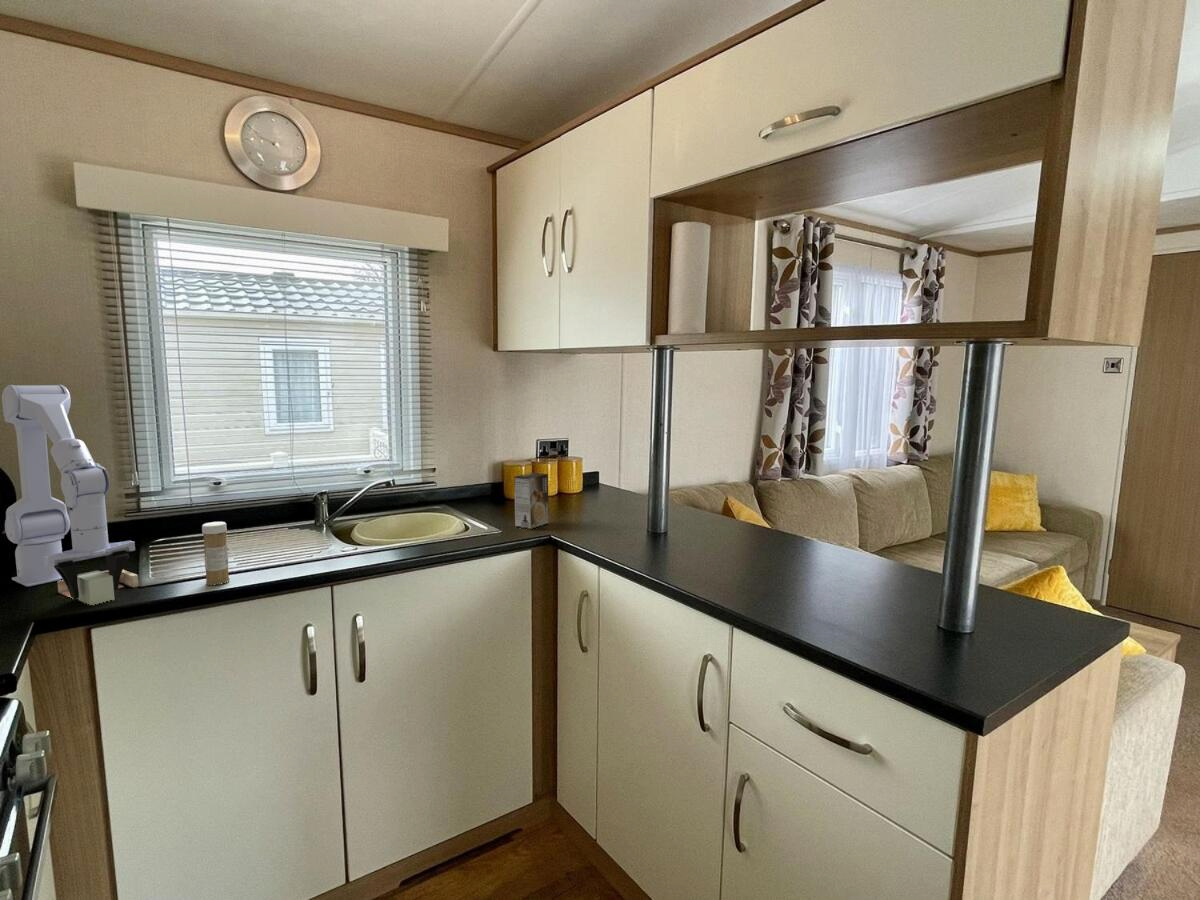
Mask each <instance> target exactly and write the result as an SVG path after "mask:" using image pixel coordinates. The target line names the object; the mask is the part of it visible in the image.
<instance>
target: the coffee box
mask: <svg viewBox="0 0 1200 900" xmlns="http://www.w3.org/2000/svg"><path fill="white" fill-rule="evenodd" d="M513 478H514V479H513V480H514V481H513V482H514V484H513V485H514V520H515V521H514V525H515V526H521V527H528V528H532V527H536V526H539V525H542V524H545V523H548V522H549V523H550V521H549V520H550V519H549V474H548V473H540V472H539V473H538V472H530V473H529V472H528V473H525V474H520V475H515V476H514V477H513ZM515 526H514V527H515Z"/></svg>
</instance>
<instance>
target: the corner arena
mask: <svg viewBox="0 0 1200 900" xmlns="http://www.w3.org/2000/svg"><path fill="white" fill-rule="evenodd" d="M101 572H103V573H106V574H108V575H109V570H108V569H107V570H103V571H101ZM56 583H57V592H58V593H59V594H61V595H63V596H65V597H67V598H69V597H70V598H69V599H71V598H72V597H71V596H70V593H69V590H68V587H67V585H66V583H65V582H64V580H63V579H62V580H57V582H56ZM120 583H121V584H120ZM123 583H124V584H123ZM122 584H123V585H122ZM139 584H140V583H139V575H138V574H136V573H133V572H130V571H127V570H125V569H123V570H122V573H121V576H120V580H119V586H118V589H121V588H125V586H124V585H126V586H128V587H131V588H136V587H137V588H138V587H140V585H139ZM72 600H75V599H74V598H72Z"/></svg>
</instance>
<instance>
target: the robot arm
mask: <svg viewBox="0 0 1200 900" xmlns="http://www.w3.org/2000/svg"><path fill="white" fill-rule="evenodd" d="M71 400H72V399H71V393H70V392H69V390H68V388H67V387H66V386H64V385H63V384H56V385H55V384H54V385H52V384H51V385H42V384H41V385H14V384H8V385H7V386H6V387H5V388H4V389H3V391H2V393H1V401H2V402H1V403H2V413H3V417H4V422H5V423H9V424H12V425H14V429H15V432H16V433H15V434H16V445H17V455H18V467H19V475H20V477H19V478H20V488H21V489H20V490H21V498H20V499H18V500H17V501H16V502H14V503H13V504H12V505H10V506H8V508H7V509H6V511H5V521H4V530H5V534H6V537H7V539H8V540H9V541H10V542H11V543H13V544H17V546H16V548H15V551H14V556H15V565H16V575H17V576H14V577H13V576H12V577H11V580H12V581H14V582H16V583H18V584H21V585H23V586H25V587H32V586H38V585H43V584H47V583H51V582H56V581H60V580H61V579H62V580H64V582H65V583H66V585H67V587H68V590H69V593H70V596H71V597H72V598H74V599H73V600H75V599H76V598H79V590H78V583H77V575H78V571H79V566H78V565H76V563H75V562H79V561H83V560H90V559H93V558H99V557H104V556H105V559H106V564H107V570H109V575H111V576H113V587H114V590H118V589H119V588H118V586H119V584H120V582H119V580H120V576H121V573H122V570H124V569H125V566H126V564H127V563H128V560H129V558H130V554H129V553H127V552H134V551H136V546H135V545H136V544H135V543H136V542H135V541H132V540H125V541H119V542H109V533H108V531H109V530H108V520H107V510H106V509H107V508H106V497H105V495H106V494H108V493H109V492H110V491H109V490H110V487H111V486H110V484H111V483H110V475H109V474H108V471H107V469H106V468H105V467H104V466H103V465H101V464H100V463H98V462H95V460H94V459H93V456H92V455H91V452H90V450H89V449H88V447H87V445H86V443H85V442H84V441H83V440H81V439H78V438H76V437H75V433H74V432H73V428H72V426H71V423H70V421H69V417H68V414H69V412H70V409H71V404H72V403H71V402H72V401H71ZM47 437H48V438H49V440H50V441H51V442H52V446H51V448H50V451H49V452H50V455H51V457H52V459H53V461H54V463H55V465H56V466H57V469H58V471H59V473H60V476H61V477H60V487H61V491H62V494H63V496H64V502H65V503H64V502H63V501H62V500H60V499H57V498H55V497H52V492H51V491H52V490H51V477H50V468H49V467H50V466H49V465H50V464H49V457H48V456H49V454H48V444H47ZM67 508H68V509H67ZM68 510H69V513H68ZM69 531H70V534H71V535H70V536H71V545H72V546H71V547H72V549H70V550H65V551H63V547H62V539H64V538H65V535H67V534H68V532H69Z"/></svg>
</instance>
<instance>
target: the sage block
mask: <svg viewBox="0 0 1200 900" xmlns="http://www.w3.org/2000/svg"><path fill="white" fill-rule="evenodd" d="M77 583H78V590H79V598H75V599H76V600H77V599H78V600H77V601H80V602H82V603H83V604H86V603H87V604H86V605H88V604H89V605H88V606H90V605H92V606H96V605H99V603H100V604H104V603H106V601H108V602H111V601H110V600H112V601H115V600H116V599H115V589H114V587H113V576H111V575H108V574H106V573H103V572H102V571H100V570H99V569H98V570H93V571H89V572H83V573H79V574H78V575H77ZM103 602H104V603H103ZM95 604H96V605H95Z"/></svg>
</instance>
